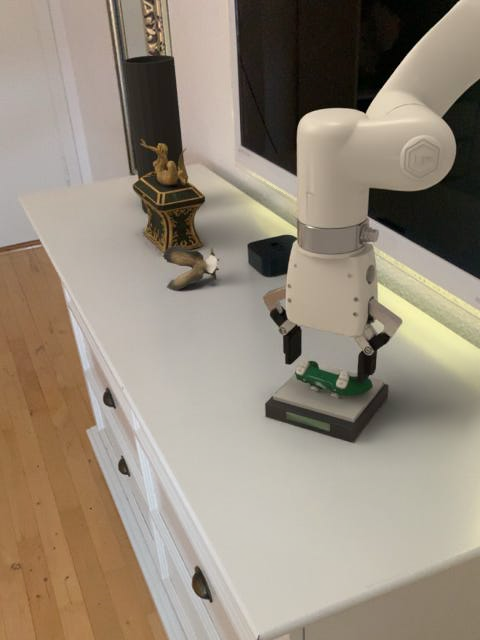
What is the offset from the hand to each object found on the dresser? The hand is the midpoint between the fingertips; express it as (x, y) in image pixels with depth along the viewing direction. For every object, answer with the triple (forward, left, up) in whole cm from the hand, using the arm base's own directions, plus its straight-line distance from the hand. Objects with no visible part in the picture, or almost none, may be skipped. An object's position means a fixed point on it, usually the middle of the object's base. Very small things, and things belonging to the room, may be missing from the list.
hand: (328, 368), depth 86 cm
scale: (0, 0, -6) cm, 6 cm away
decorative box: (+52, -39, -6) cm, 65 cm away
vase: (+67, -56, -6) cm, 88 cm away
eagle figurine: (+38, -25, -6) cm, 46 cm away
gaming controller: (0, 0, -3) cm, 3 cm away
